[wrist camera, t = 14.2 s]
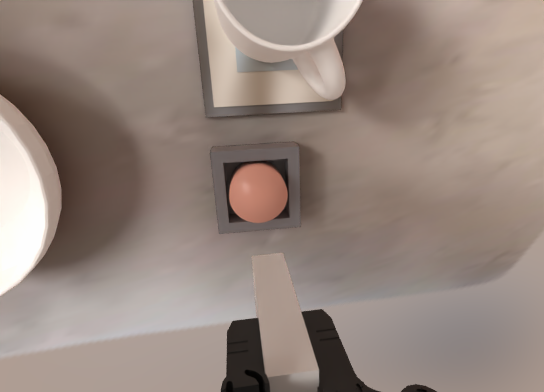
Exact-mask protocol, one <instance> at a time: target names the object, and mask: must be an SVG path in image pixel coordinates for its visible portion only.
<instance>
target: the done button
mask: <svg viewBox="0 0 544 392" xmlns="http://www.w3.org/2000/svg"><path fill="white" fill-rule="evenodd" d="M287 198H288V192H287V187H286V184H285V182H284V180H283V178H282V176H281V174H280V172H279V171H278V169H277V168H276V167H275V166H274V165H273V164H271V163H270V162H268V161H265V160H262V161H247V162H243V163H242V164H240V165H239V166H238V167H237V168H236V169H235V170H234V172H233V174H232V176H231V179H230V190H229V200H230V204H231V207H232V209H233V210H234V212H235V213H236V214H237V215H238V216H239V217H240V218H242V219H244V220H246V221H249V222H253V223H263V222H267V221H270V220H272V219H274V218H275V217H277V216H278V215H279V214H280V213H281V212H282V210H283V209H284V207H285V205H286V202H287Z"/></svg>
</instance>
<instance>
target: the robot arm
mask: <svg viewBox="0 0 544 392" xmlns="http://www.w3.org/2000/svg"><path fill="white" fill-rule="evenodd" d="M252 266H253V280H254V293H255V305H256V314H257V318H253V319H245V320H237V321H232V323H231V325H230V327H229V329H228V331H227V373H226V374H227V376H226V378H225V379H224V381H223V383H222V387H221V392H379V391H376V390H373V389H371V388H369V387H367V386H366V385H365V384H364V382H362V381H361V380H360V379H358V377H357V376H356V374H355V373H354V371H353V368H352V366H351V363H350V361H349V359H348V356H347V354H346V352H345V349H344V347H343V345H342V342H341V340H340V339H339V335H338V333H337V331H336V328H335V326H334V324H333V321H332V319H331V317H330V316H329V315H328V314H327V313H326V312H324V311H323V310H322V309H320V310H312V311H304V312H301V310H300V306H299V303H298V300H297V296H296V293H295V290H294V287H293V283H292V280H291V277H290V274H289V270H288V267H287V264H286V261H285V257H284V254H283V253H276V254H267V255H257V256H252ZM401 392H436V391H435V390H433V389H431V388H428V387H426V386H423V385H417V384H415V385H410V386H407V387H406V388H404V389H403V390H402V391H401Z"/></svg>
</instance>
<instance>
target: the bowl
mask: <svg viewBox="0 0 544 392" xmlns="http://www.w3.org/2000/svg"><path fill="white" fill-rule="evenodd" d="M61 208H62V205H61V184H60V180H59V175H58V171H57V167H56V165H55V163H54V160H53V158H52V156H51V154H50V151H49V149H48V147H47V145H46V144H45V142H44V141H43V139H42V138H41V136H40V135H39V133H38V132H37V130H36V129H35V127H34V126H33V125H32V124H31V123H30V121H29V120H28V119H27V118H26V117H25V116H24V115H23V114H22V113H21V112H20V111H19V110H18V109H17V108H16V107H15V106H14V105H13V104H12V103H11V102H9V101H8V100H7V99H5V98H4V97H3V96H2V95H0V296H2V295H4V294H5V293H6V292H8V291H9V290H11V289H12V288H14V287H15V286H17V285H18V284H19V283H21V282H22V281H23V280H24V279H25V277H26V276H27V275H28V274H29V273H30V272H31V271H32V270H33V269H34V267H35V266H36V265H37V264H38V263H39V261H40V260H41V259H42V258H43V256H44V255H45V254H46V252H47V250H48V248H49V246H50V244H51V242H52V240H53V238H54V236H55V232H56V229H57V225H58V221H59V217H60V213H61Z"/></svg>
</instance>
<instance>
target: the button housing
mask: <svg viewBox="0 0 544 392" xmlns="http://www.w3.org/2000/svg"><path fill="white" fill-rule="evenodd" d="M210 158H211V167H212V176H213V184H214V193H215V202H216V211H217V220H218V229H219V234H224V233H235V232H247V231H258V230H270V229H281V228H293V227H301V225H300V163H299V146H298V145H297V144H296V143H295V142H280V143H264V144H249V145H233V146H217V147H212V148H211V151H210ZM262 160H265V161H268V162H270V163H271V164H273V165H274V166H275V167H276V168H277V169H278V171H279V172H280V174H281V176H282V178H283V180H284V182H285V184H286V187H287V192H288V198H287V202H286V205H285V207H284V209H283V210H282V212H281V213H280V214H279V215H278V216H277V217H275V218H274V219H272V220H270V221H267V222H263V223H253V222H249V221H246V220H244V219H242V218H240V217H239V216H238V215H237V214H236V213H235V212H234V210H233V209H232V207H231V204H230V200H229V190H230V179H231V176H232V174H233V172H234V170H235V169H236V168H237V167H238V166H239V165H240V164H242V163H243V162H247V161H262Z"/></svg>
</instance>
